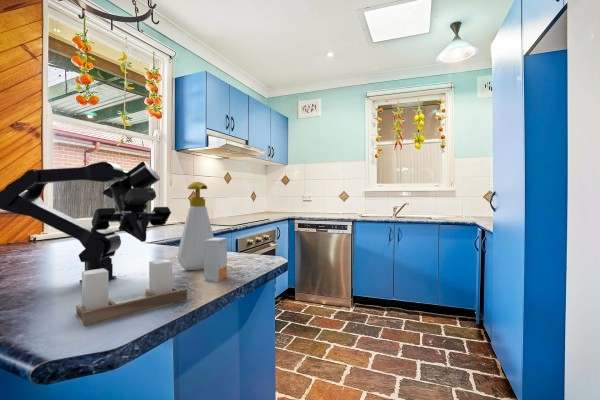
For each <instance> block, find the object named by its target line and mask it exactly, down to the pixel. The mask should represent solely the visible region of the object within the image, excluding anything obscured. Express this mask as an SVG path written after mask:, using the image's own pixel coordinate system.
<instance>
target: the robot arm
mask: <svg viewBox="0 0 600 400" xmlns="http://www.w3.org/2000/svg"><path fill="white" fill-rule="evenodd" d="M160 180H161V179H160V175H159V174H158V173H157V172H156V170H154V169H153V168H152V167H151V166H150V165H149V164H148V163H147V162H145V161H141V162H140V163H138V164H137V165H136V166H135V167H133V168H132V169H130V170H125V169H123V168H122V167H121V165H119V164H117V163H112V162H109V161H98V162H93V163H88V164H87V165H84V166H77V167H63V168H46V169H45V168H44V169H43V168H42V169H37V168H36V169H35V168H32V169H28V170H26V171H25V172H24V173H23V174H22V175H21V176H20V177H18V178H17V179H15V180H13V181H12V182H10V183H9V184H7V185H6V187H4V188H3V189H2V190H0V210H2V211H5V212H8V213H11V214H17V215H21V216H27V217H30V218H33V219H35V220H37V221H39V222H41V223H43V224H45V225H47V226H49V227H51V228H53V229H55V230H58V231H59V232H62V233H64V235H65V234H66V235H68V236H70V237H72V238H74V239H76V240H78V241H79V243H80V244H81V245H82V247H83V248H84V249H83V250H82V251H81V252H80V253H79V254H78V258H79V260H80V262H81V263H84V271H88V270H95V269H102V268H104V269H106V270H107V271H108V281H110V280H114V279H117V275H113V271H114V270H113V265H114V264H113V262H112V261H113V260H112V259H113V258H111V257H114V256H115V254H116V251H117V250H118V249H119V248H120V246H122V245H121V244H122V240H121V236H120V235H119V234H118V233H117V230H113V229H110V223H119V227H118V230H119V231H123V232H125V233H127V234H129V235H131V236H132V237H134V238H135V239H136V240H138V241H140V242H141V243H144V242H145V243H146V240H147V228H148V226H149V224H150V225H152V226H153V227H156V226H157V227H159V226H164V225H166V223H167V222H168V219H169V218H170V215H172V212H171V209H170V207H169V206H154V207H153V209H152V211H150V210H149V211H145V210H146V209H147V208H148V205H147V203H149V201H154V200H155V199H156V198H157V192H156V191H155V189H154V188H153V187H151V186H153V185H154V184H156V183H157V182H159V181H160ZM83 181H89V182H90V181H91V182H99V183H100V182H101V183H110V184H111V185H109V186H107V187H106V188H105V189H104V190H103V191H102V195H104V196H106V197H108V198H109V199H111V200H112V199H113V201H114V203H115V207H105V208H104V207H102V208H101V207H99V208H97V209H95V211H94V214H93V217H92V218H91V219H92V220H91V226H89V225H88V224H85V223H84V222H82V221H79V220H78V219H76V218H73V217H71V216H69V215H68V214H65V213H63V212H62V211H59V210H58V209H55V208H53V207H52V206H50V205H47V204H46V203H45V202H44V201H43V199H42V198H41V196H42V195H43V192H44V189H45V188H46V185H48V184H51V183H52V184H53V183H68V182H69V183H70V182H83ZM116 212H119V213H116ZM79 283H82V279H80V280H79Z"/></svg>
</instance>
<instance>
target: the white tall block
mask: <svg viewBox="0 0 600 400" xmlns="http://www.w3.org/2000/svg"><path fill="white" fill-rule="evenodd" d="M81 280H82V282H81V306H82V308H83V309H84V310H85V311H87V310H91V309H96V308H100V307H105V306H109V293H110V292H109V280H108V271H107V270H106V269H104V268H102V269H95V270H88V271H85V270H82V271H81Z"/></svg>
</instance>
